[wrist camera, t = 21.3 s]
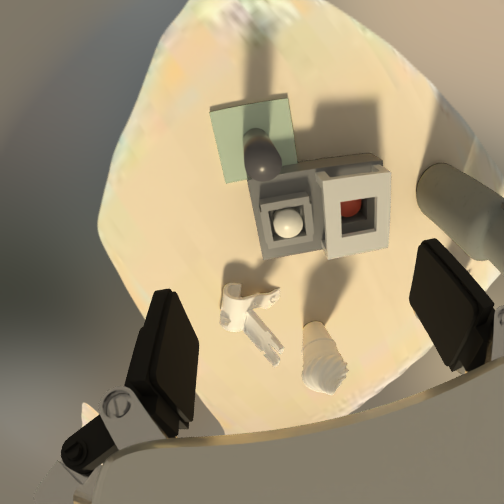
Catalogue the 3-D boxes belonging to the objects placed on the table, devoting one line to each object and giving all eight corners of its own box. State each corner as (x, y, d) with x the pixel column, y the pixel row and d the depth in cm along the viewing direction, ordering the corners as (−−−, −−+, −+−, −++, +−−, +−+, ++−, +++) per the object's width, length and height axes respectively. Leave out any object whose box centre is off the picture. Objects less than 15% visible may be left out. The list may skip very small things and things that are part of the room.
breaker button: (353, 182, 39) (361, 189, 37) (354, 206, 41) (361, 214, 39) (328, 186, 39) (335, 193, 37) (330, 210, 42) (336, 219, 39)
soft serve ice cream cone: (328, 340, 58) (346, 404, 44) (289, 342, 57) (301, 410, 44) (337, 312, 53) (361, 380, 40) (295, 314, 53) (311, 386, 39)
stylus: (266, 125, 34) (279, 143, 24) (271, 150, 36) (284, 178, 26) (240, 130, 35) (240, 149, 25) (245, 155, 36) (248, 184, 26)
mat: (286, 98, 33) (287, 98, 33) (297, 169, 38) (298, 170, 38) (209, 112, 34) (209, 112, 33) (225, 182, 39) (225, 183, 38)
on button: (298, 203, 37) (301, 209, 35) (301, 227, 38) (304, 235, 37) (270, 208, 37) (272, 215, 35) (274, 232, 39) (276, 240, 37)
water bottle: (422, 154, 37) (561, 250, 14) (462, 164, 38) (584, 251, 14) (408, 212, 43) (515, 333, 19) (448, 217, 43) (547, 320, 20)
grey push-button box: (370, 152, 37) (394, 167, 31) (371, 225, 44) (390, 250, 37) (246, 171, 38) (248, 189, 32) (261, 245, 45) (265, 274, 38)
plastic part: (224, 281, 48) (221, 333, 38) (282, 287, 49) (291, 338, 40) (219, 313, 52) (217, 364, 42) (273, 318, 53) (279, 368, 43)
